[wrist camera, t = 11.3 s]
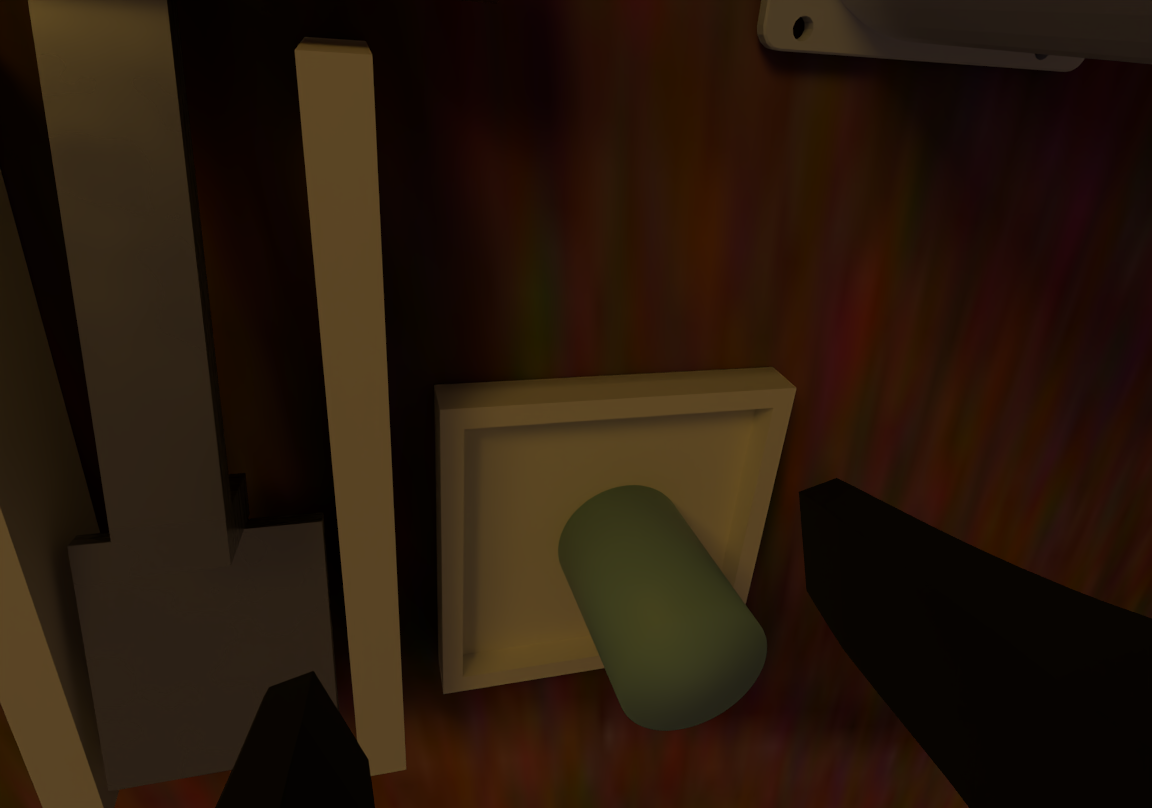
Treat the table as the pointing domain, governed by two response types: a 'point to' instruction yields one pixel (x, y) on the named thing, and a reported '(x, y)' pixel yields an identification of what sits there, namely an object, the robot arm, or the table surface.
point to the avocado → (659, 609)
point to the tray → (584, 498)
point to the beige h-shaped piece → (61, 497)
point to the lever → (163, 420)
